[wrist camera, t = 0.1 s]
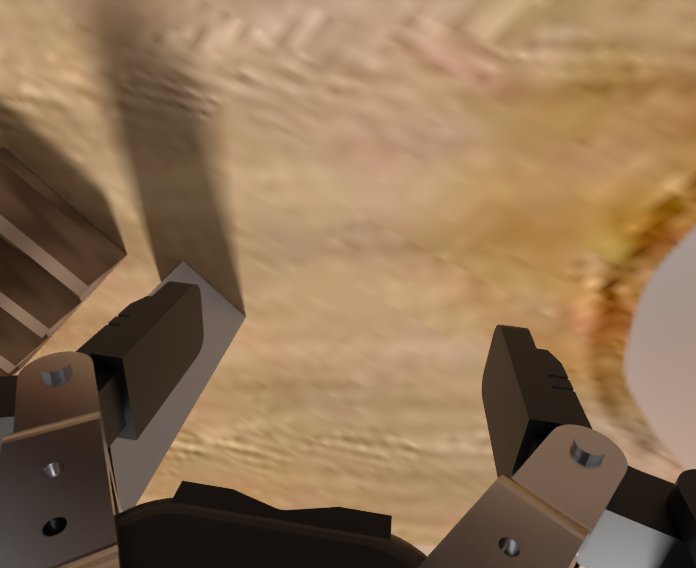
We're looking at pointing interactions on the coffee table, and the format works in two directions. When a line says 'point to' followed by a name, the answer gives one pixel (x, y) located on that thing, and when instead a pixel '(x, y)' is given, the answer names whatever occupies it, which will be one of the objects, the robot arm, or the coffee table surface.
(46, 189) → the drying rack
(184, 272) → the clay strip
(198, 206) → the coffee table surface
